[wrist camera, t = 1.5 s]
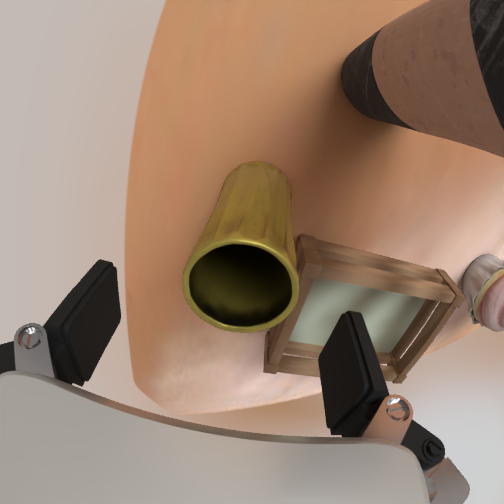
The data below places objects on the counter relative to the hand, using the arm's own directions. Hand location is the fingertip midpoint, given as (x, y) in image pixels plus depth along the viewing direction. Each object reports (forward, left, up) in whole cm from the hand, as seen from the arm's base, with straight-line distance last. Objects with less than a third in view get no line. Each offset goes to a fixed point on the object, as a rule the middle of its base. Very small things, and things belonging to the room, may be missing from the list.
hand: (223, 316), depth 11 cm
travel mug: (-8, -13, -16) cm, 22 cm away
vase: (0, 0, -16) cm, 16 cm away
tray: (-14, +10, -16) cm, 24 cm away
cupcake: (-30, +2, -16) cm, 34 cm away
